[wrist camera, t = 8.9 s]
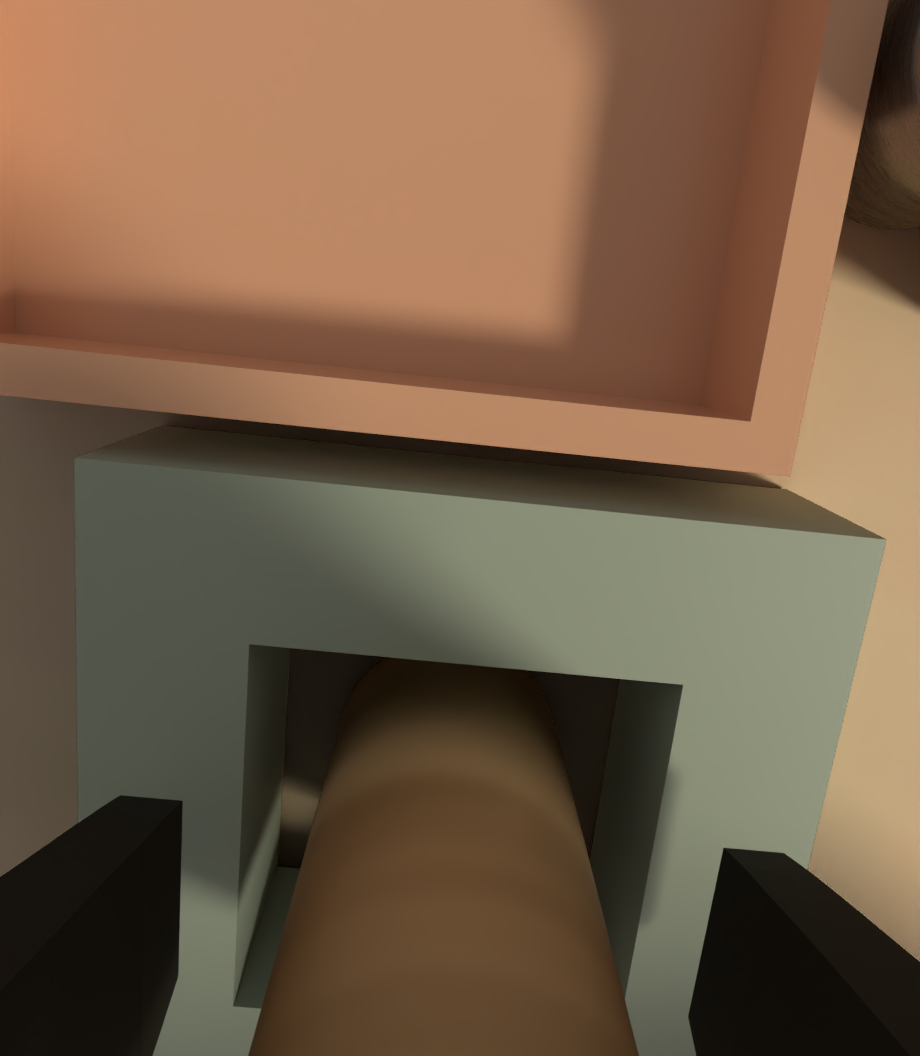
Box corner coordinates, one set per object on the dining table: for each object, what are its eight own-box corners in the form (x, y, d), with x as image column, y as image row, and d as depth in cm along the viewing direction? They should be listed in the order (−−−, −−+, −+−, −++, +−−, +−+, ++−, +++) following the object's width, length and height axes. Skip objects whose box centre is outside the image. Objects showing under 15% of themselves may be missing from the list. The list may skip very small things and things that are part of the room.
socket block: (681, 1000, 12) (736, 1163, 10) (154, 956, 12) (81, 1114, 10) (786, 489, 11) (886, 539, 8) (162, 426, 10) (74, 458, 8)
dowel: (540, 842, 12) (659, 1543, 5) (333, 825, 12) (170, 1514, 5) (568, 649, 11) (751, 1166, 4) (347, 629, 11) (180, 1126, 4)
